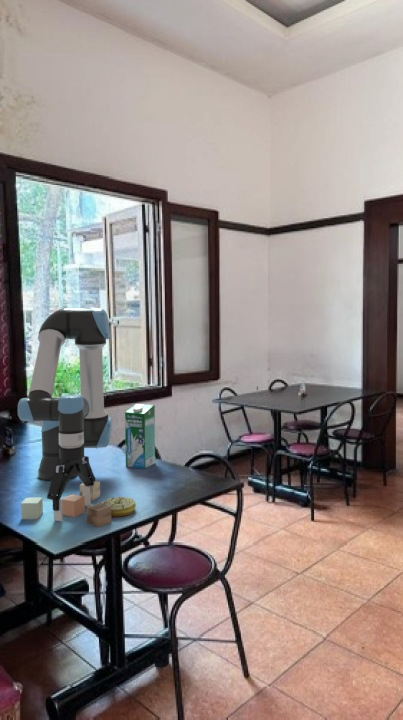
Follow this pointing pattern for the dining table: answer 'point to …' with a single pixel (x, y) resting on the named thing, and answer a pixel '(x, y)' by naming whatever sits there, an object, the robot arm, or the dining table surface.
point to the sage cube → (31, 508)
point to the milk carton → (140, 436)
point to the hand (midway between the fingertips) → (72, 513)
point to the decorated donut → (120, 505)
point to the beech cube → (93, 490)
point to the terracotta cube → (73, 505)
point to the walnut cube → (98, 514)
